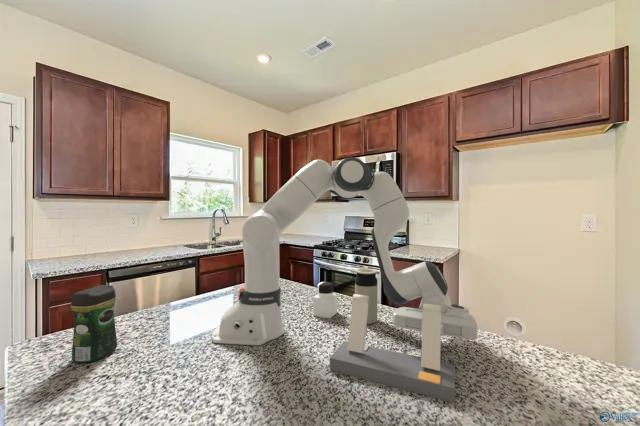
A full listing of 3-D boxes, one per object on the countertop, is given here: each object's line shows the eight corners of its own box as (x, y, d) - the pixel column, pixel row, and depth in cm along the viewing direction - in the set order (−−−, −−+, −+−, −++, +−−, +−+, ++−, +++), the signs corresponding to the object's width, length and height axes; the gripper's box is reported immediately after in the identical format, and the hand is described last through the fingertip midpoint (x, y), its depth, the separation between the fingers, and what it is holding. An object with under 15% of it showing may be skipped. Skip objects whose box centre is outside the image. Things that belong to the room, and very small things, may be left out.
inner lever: (346, 349, 73) (353, 293, 77) (349, 349, 74) (355, 294, 78) (362, 353, 71) (367, 295, 75) (364, 352, 73) (369, 296, 77)
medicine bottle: (337, 312, 109) (337, 281, 109) (330, 319, 103) (330, 286, 103) (320, 309, 112) (320, 279, 112) (312, 315, 106) (312, 284, 106)
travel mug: (366, 326, 96) (367, 273, 96) (350, 319, 102) (350, 270, 102) (381, 320, 101) (382, 270, 101) (365, 314, 107) (365, 267, 107)
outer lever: (420, 366, 65) (422, 303, 68) (421, 365, 67) (423, 303, 70) (439, 370, 63) (440, 305, 67) (440, 369, 65) (441, 305, 68)
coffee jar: (97, 345, 83) (97, 282, 82) (122, 347, 82) (122, 283, 82) (64, 363, 73) (63, 292, 73) (91, 365, 72) (90, 293, 72)
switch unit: (329, 369, 70) (329, 356, 70) (344, 351, 79) (344, 339, 79) (454, 402, 58) (454, 387, 58) (454, 376, 67) (454, 363, 67)
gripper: (397, 298, 84) (387, 314, 72) (474, 308, 76) (479, 328, 63) (396, 319, 84) (387, 339, 72) (474, 332, 76) (479, 356, 63)
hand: (431, 334), depth 68 cm, fingers closed, pressing on outer lever
